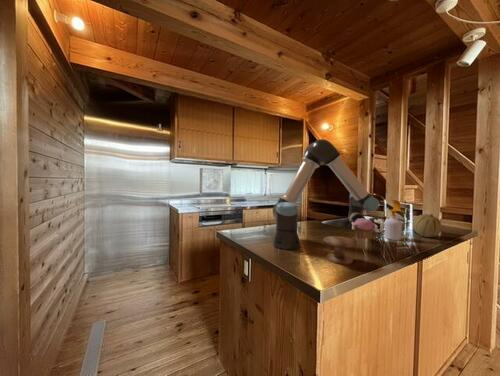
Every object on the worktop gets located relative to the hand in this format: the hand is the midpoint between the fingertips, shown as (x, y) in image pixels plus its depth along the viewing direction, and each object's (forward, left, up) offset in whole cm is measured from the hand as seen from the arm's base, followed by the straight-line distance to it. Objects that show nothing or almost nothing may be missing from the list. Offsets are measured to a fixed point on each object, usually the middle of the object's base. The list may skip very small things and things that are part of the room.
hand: (364, 227), depth 103 cm
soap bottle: (+36, +32, -14) cm, 50 cm away
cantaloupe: (+61, +36, -14) cm, 72 cm away
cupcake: (+1, +4, -6) cm, 8 cm away
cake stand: (-14, -5, -14) cm, 20 cm away
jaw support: (+40, +51, -14) cm, 66 cm away
